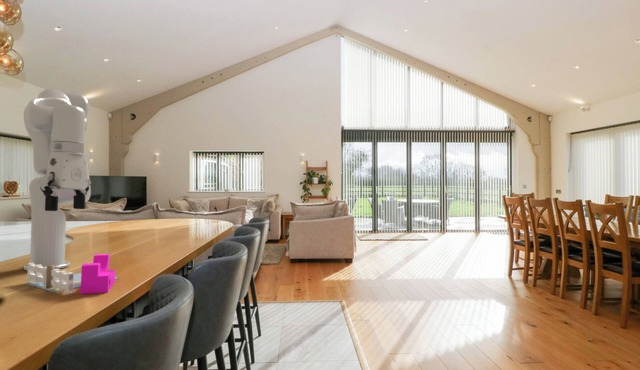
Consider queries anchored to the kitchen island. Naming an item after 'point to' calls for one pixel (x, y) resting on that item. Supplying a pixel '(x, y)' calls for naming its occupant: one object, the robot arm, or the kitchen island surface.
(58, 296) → the kitchen island surface
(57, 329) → the kitchen island surface
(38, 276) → the swing panel
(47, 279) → the fixed panel and post
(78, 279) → the mat
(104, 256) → the toy block
